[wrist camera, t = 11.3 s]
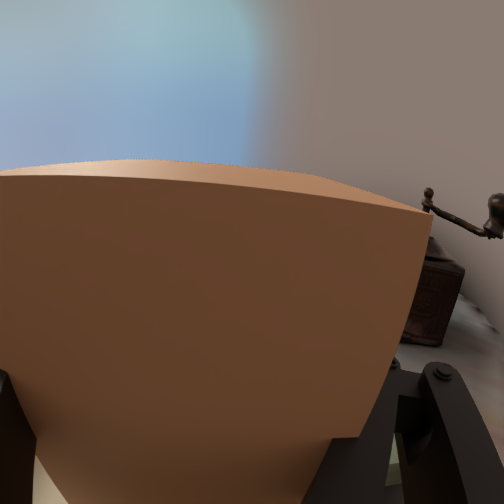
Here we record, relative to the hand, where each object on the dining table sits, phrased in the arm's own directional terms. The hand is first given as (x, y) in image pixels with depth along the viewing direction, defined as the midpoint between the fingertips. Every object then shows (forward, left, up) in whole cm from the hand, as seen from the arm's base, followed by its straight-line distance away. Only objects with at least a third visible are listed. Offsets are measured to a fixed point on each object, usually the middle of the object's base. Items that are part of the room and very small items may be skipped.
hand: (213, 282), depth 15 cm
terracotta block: (-3, -4, -7) cm, 8 cm away
